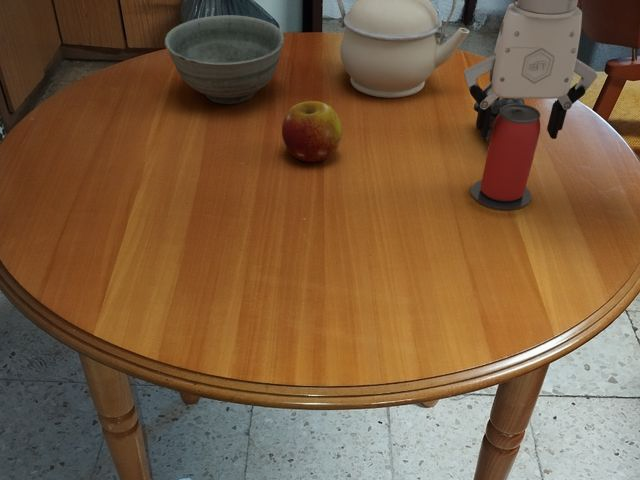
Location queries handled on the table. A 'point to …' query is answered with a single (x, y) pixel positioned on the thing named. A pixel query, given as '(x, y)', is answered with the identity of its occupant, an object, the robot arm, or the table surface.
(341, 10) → the kettle
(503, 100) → the fruit
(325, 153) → the fruit
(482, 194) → the coaster
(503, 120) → the beer can
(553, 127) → the robot arm
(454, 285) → the table surface
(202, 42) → the bowl
